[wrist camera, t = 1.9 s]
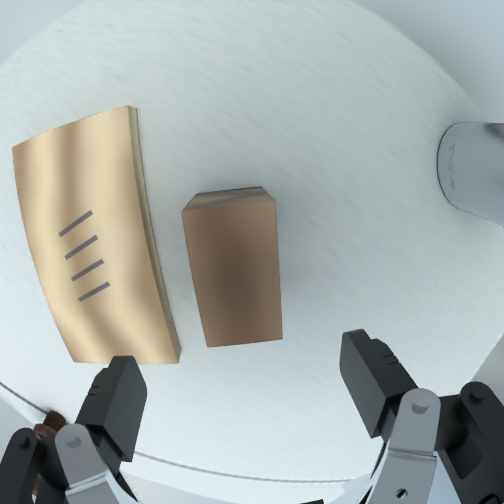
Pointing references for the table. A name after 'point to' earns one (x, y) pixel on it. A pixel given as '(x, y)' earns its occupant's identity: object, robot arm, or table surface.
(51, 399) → the table surface
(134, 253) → the pine board
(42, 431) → the bolt
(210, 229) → the block
